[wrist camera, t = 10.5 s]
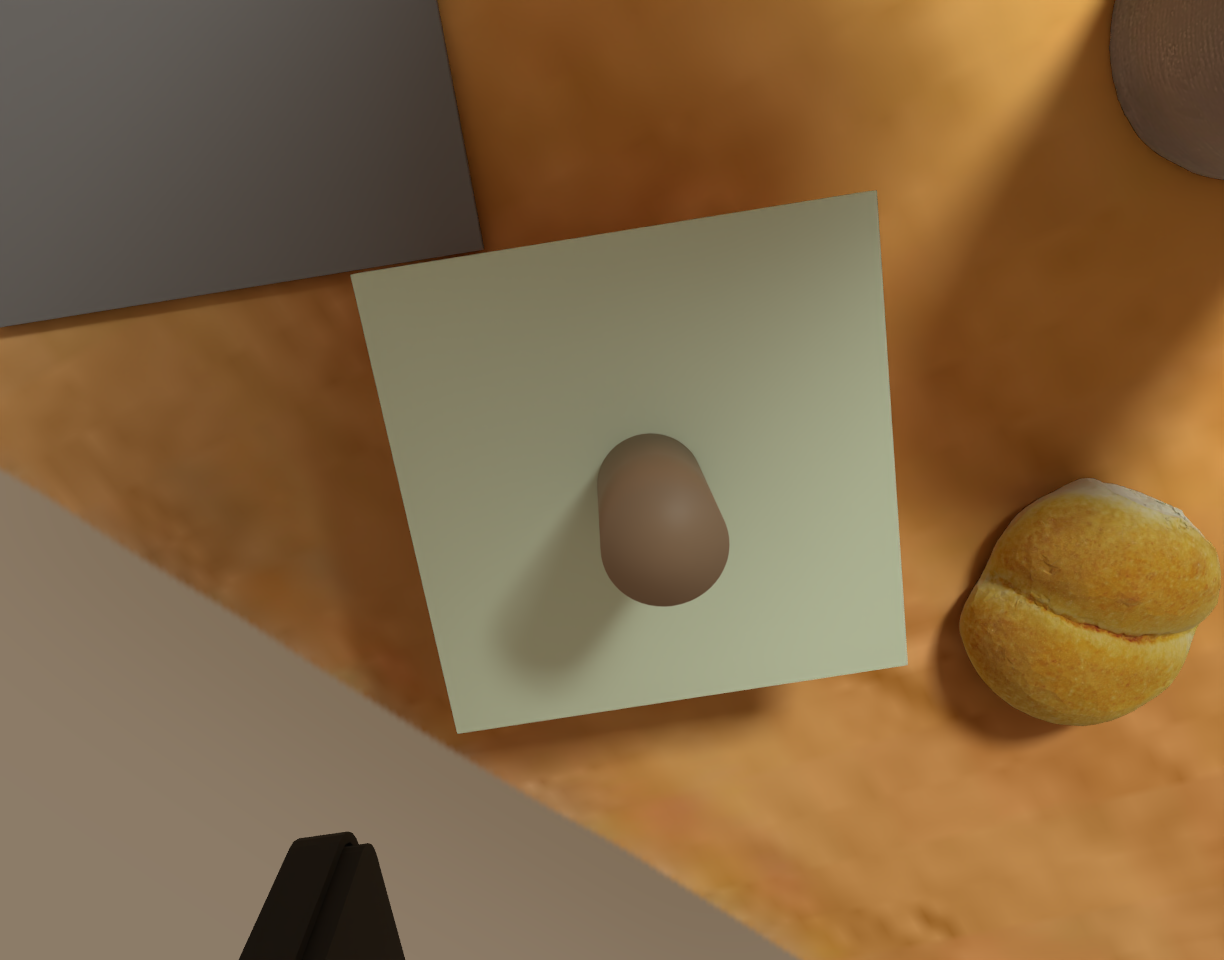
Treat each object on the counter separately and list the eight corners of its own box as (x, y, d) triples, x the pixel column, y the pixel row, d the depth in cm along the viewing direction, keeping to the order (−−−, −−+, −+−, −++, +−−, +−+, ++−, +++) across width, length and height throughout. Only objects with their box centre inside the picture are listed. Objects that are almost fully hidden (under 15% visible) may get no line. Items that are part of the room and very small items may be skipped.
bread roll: (921, 666, 34) (962, 723, 31) (1025, 450, 32) (1084, 483, 28) (1112, 725, 35) (1175, 787, 32) (1227, 520, 33) (1310, 560, 29)
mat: (-198, -249, 25) (-211, -257, 25) (371, -346, 25) (368, -355, 24) (2, 326, 30) (-5, 327, 29) (484, 249, 29) (482, 249, 29)
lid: (357, 273, 25) (291, 291, 19) (867, 191, 24) (951, 185, 19) (460, 719, 29) (431, 842, 23) (899, 652, 28) (975, 760, 23)
